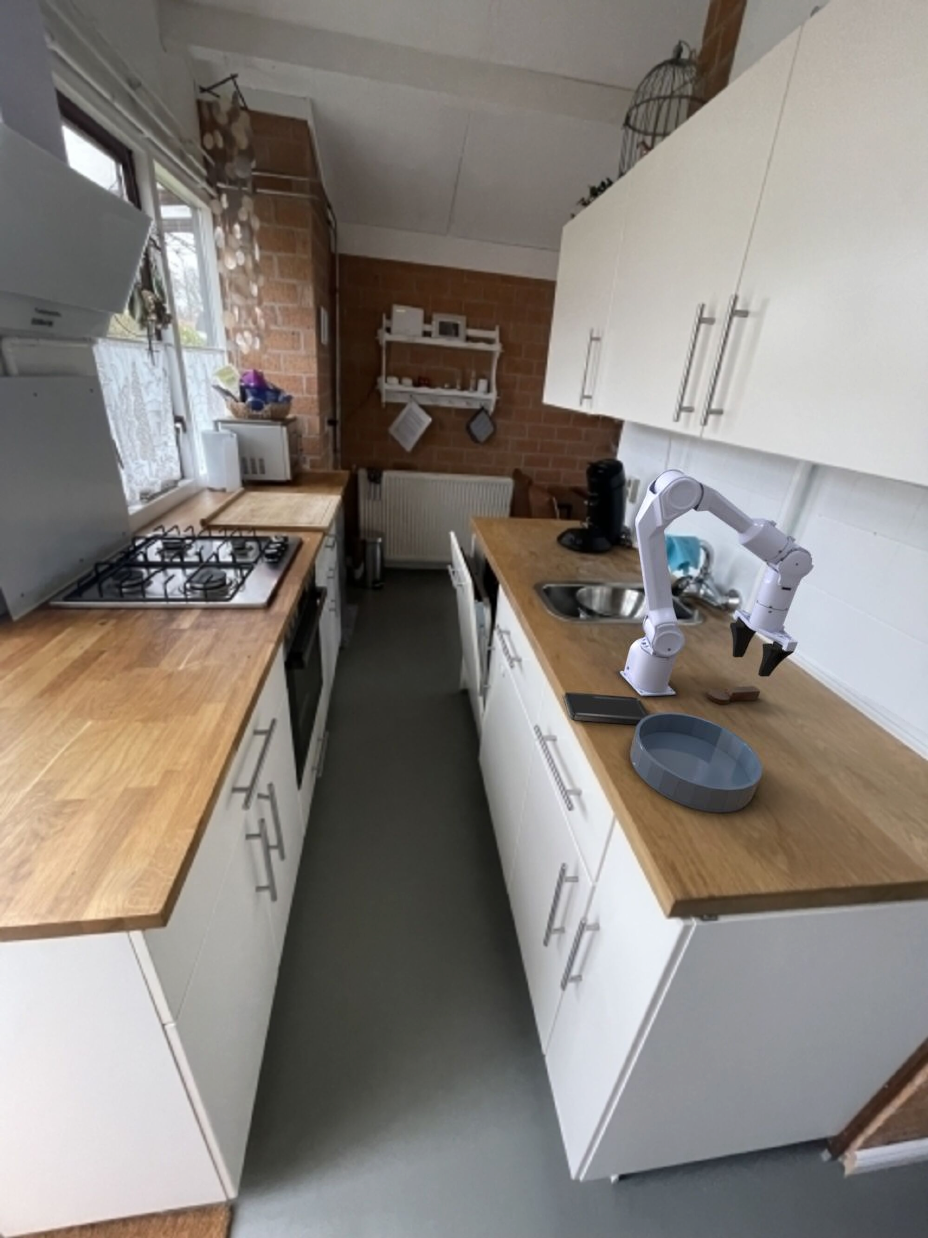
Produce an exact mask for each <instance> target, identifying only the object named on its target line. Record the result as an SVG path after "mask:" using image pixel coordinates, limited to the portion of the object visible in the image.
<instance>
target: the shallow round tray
mask: <svg viewBox="0 0 928 1238" xmlns="http://www.w3.org/2000/svg"><path fill="white" fill-rule="evenodd" d="M648 715H649V716H647V717H645V718H643V719H642V720H641V721H640V722H639V723H638V725H635V731H634V734H633V737H632V740H631V746H630V751H629V758H630V761H631V764H632V766H633V768H634V770H635V772H636V773H637V775H638V776H639V777H640V778H641V780H643V781H644V782H645V784H647V785H648V786H650V788H651V789H652V790H654V791H655V792H657V793H658V794H660V795H662V796H664V797H665V798H667V799H669V800H671V801H673V802H675V803H677V804H679V805H681V806H684V807H688V808H691V809H694V810H697V811H702V812H709V813H721V814H722V813H732V812H736V811H739V810H741V809H742V808H745V807H746V806H747V805H749V803H750V802H751V800H752V799H753V797H754V796H755V795H754V794H755V792H756V791H757V788H758V786H759V784H760V781H761V778H762V776H763V775H762V774H763V772H764V771H763V770H764V769H763V766H762V760H761V759H760V757H759V756H758V754H757V752H756V751H755V750H754V749H753V748H752V747H751V745H749V744H748V742H746V741H745V740H744V739H743V738H741V737H740V736H739V735H737V734H736V733H734V732H733V731H731V730H729V729H728V728H726V727H724V726H722V725H720V724H718V723H716V722H713V721H712V720H708V719H706V718H702V717H700V716H697V715H693V714H687V713H684V712H672V711H669V712H668V711H666V712H657V713H652V714H648Z"/></svg>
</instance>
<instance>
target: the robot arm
mask: <svg viewBox="0 0 928 1238" xmlns="http://www.w3.org/2000/svg"><path fill="white" fill-rule="evenodd" d="M691 510H694V511H695V512H706V511H707V512H709V513H710V514H712V515H713V516H715V517H716V518H717V519H719V520H721V522H723V523H725V524H726V525H727V526H728V527H730V528H732V529H733V530H734V531H736V532H737V543H739V544H740V545H741V546H743V548H745V549H747V550H748V551H749V552H751V553H752V554H753V555H755V556H756V557H757V558H758V559H760V560H761V561H763V562H764V563H765V564H766V565H767V568H766V570H765V571H766V572H765V575H764V577H763V580H762V583H761V586H760V588H759V591H758V594H757V597H756V600H755V603H754V605H753V608H752V611H751V612H748V611H746V610H744V609H736V610H735V612H734V614H733V619H734V620H735V622H730V623H729V628H730V631H731V638H732V657H733V658H744V656H745V655H746V652H747V650H748V648H749V646H750V643H751V641H752V639H753V638H754V636H755V634H756V633H759V634H760V635H762V636H764V638H767V639H768V640H769V641H771V642H772V643H766V642H765V643H762V644H761V645H762V658H761V662H760V665H759V669H758V673H757V674H758V675H757V676H759V677H763V678H764V677H770V676H771V674H772V673H773V672H774V671H775V669H776V668H777V667H778V666H779V665H780V664H781V663H782V662H783V661H784V660H785V659H786V658H788V657H790V655H792V654H794V652H795V651H796V649H797V645H798V643H799V642H798V641H797V640H795V639H794V638H793V637H792V636H791V635H790V634H789V633H788V632H787V631H786V630H785V628H786V627H785V625H784V624H785V621H786V618H787V617H788V613H789V611H790V608H791V605H792V603H793V600H794V598H795V595H796V593H797V590H798V587H799V586H800V583H801V581H802V580H803V578H804V577H806V576H807V575H809V574H810V573H811V572H812V570H813V568H814V567H815V566H814V565H813V564H812V563H813V558H812V554H811V551H809V550H808V549H806V548H804V547H803V546H801V545H799V544H797V543H796V540H797V539H796V538H795V537H794V536H793V535H790V534H788V535H786V534H785V533H784V532H783V531H781V530H780V529H779V528H777V527H776V526H777V525H778V523H777V522H776V521H774V520H773V519H771V518H767V519H766V518H765V517H754V518H751V517H750V516H749V515H747V514H746V513H744V511H743V510H741V509H740V508H738V506H736V505H735V504H734V503H733V502H731V500H729V499H728V498H726V497H725V496H724V495H723V494H722V493H720V492H719V491H718V490H717V489H715V488H713V487H711V486H709V485H707V484H705V483H703V482H701V481H700V480H697V479H696V478H694V477H692V476H689V475H687V474H685V473H684V472H683V471H681V470H679V469H676V468H671V469H670V468H669V469H666V470H663V471H662V472H661V473H659V474H658V475H657V476H656V477H655V478H654V479H653V480H652V481H651V482H650V484H648V486H647V489H646V494H645V496H644V498H643V501H642V503H641V505H640V508H639V510H638V512H637V515H636V517H635V520H634V526H635V532H636V539H637V546H638V553H639V555H638V556H639V559H640V560H639V561H640V567H641V575H642V583H643V588H644V589H643V590H644V596H645V597H644V598H645V603H646V606H645V607H644V611H645V616H644V619H643V622H642V630H643V632H644V633H645V636H644V637H640V638H638V639H636V640H634V641H633V643H632V644H631V645H630V648H629V650H628V654H627V657H626V663H625V665H624V670H620V671H619V673H620V675H621V676H622V677H623V678H624V679H625V680H626V682H628V684H630V686H631V687H632V688H633V689H634V690H635V691H636V692H637V694H638V695H639V696H641V697H655V696H673V695H676V691H675V690H674V689H673V688H671V686H670V685H669V682H670V679H671V676H672V672H673V670H674V665H675V663H676V658H677V655H678V654H680V653H681V652H682V650H684V647H685V645H686V638H685V635H684V633H683V632H682V631H681V630H680V628H679V622H678V619H677V616H676V612H675V609H674V602H673V594H672V586H671V577H670V569H669V568H670V567H669V561H668V560H669V559H668V553H667V543H666V535H665V531H666V529H667V528H668V527H669V526H670V525H671V524H672V523H673V522H674V520H676V519H678V518H679V517H682V516H683V515H684V514H686V513H688V512H690V511H691Z"/></svg>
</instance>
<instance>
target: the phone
mask: <svg viewBox="0 0 928 1238" xmlns="http://www.w3.org/2000/svg"><path fill="white" fill-rule="evenodd" d="M563 700H564V704H565V707H566V710H567V714H568V716H569V718H570V719H572V720H573V721H585V722H598V723H610V724H621V725H622V724H623V725H635V726H637V725H638V723H639V722H640V721H641V720H642V719H643V718H645V717H647V716H649V715H650V714H648V712H647V710H646V708H645V706H644V704H643V702H642V700H641V699H640V698H637V697H634V696H624V695H611V694H599V693H598V694H597V693H588V692H587V693H585V692H573V691H567V692H565V694H564V698H563Z"/></svg>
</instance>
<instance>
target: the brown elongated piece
mask: <svg viewBox="0 0 928 1238" xmlns="http://www.w3.org/2000/svg"><path fill="white" fill-rule="evenodd" d="M760 694H761V690H759V689H758V688H757V687H755V686H752V685H751V686H731V687H726V688H725V690H724V691H723V690H721V689H720V690H719V689H716V688H715V689H714V688H713V689H710V690H709V691H708V693H707V699H708V700H709V701H711V702H713V703H714V704H717V705H725V706H726V705H728V704H729V703H730V702H744V701H747V702H748V701H758V699H759V696H760Z"/></svg>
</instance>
